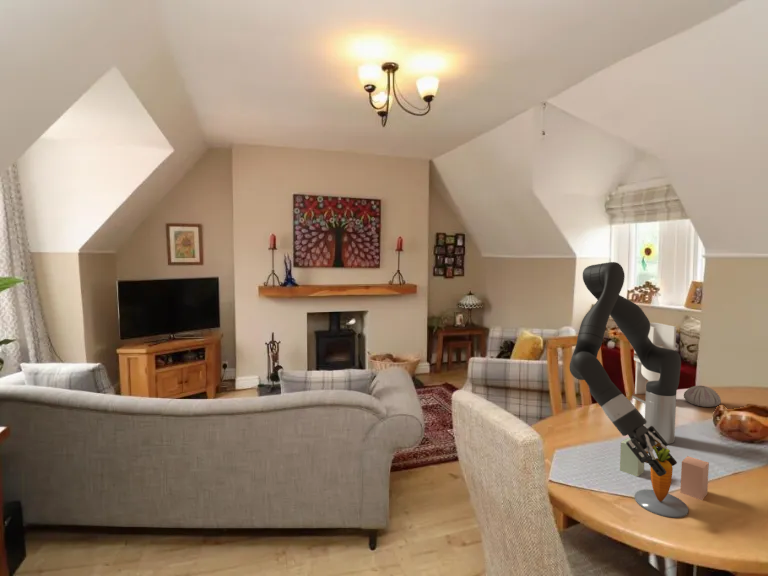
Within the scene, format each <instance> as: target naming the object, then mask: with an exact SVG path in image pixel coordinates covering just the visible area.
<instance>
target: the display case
mask: <svg viewBox="0 0 768 576" xmlns="http://www.w3.org/2000/svg"><path fill="white" fill-rule="evenodd" d="M648 337H649V339H650V340H651V342H652V343H653V344H654V345H655V346H657V347H661V348H666V349H671V350H675V351H676V342H677V339H676V338H677V326H675V325H674V326H673V325H670V324H665V323H659V322H650V332H649V335H648ZM633 351H634V353H633V360H634V361H635V384H634V387H635V388H634V393H632V399H634V400H637V401H639V403H643V404H644V405H645V401H646V384H647V382H649V381H658V380H659V378H660V373H656V372H652V371H649V370H647V369H646V368H645V367H644V366H643V365H642V363H641V361H640V360H639V358H638V356H637V354H636V352H635V350H634V349H633Z"/></svg>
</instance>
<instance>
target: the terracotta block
mask: <svg viewBox="0 0 768 576" xmlns="http://www.w3.org/2000/svg"><path fill="white" fill-rule="evenodd" d="M709 466H710V462H708V461H705V460H701V459H699V458H695V457H693V456H688V455H687V456H686V457H685V458H684V459H683V460H682V461H681V466H680V467H681V470H680V471H681V472H680V490H679V491H680V493H681V494H684V495H686V496H689V497H691V498H695V499H698V500H700V501H703V500H704V498H705V497H706V496H707V495H708V489H709V488H708V487H709V485H708V484H709V469H710V467H709Z"/></svg>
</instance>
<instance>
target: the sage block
mask: <svg viewBox="0 0 768 576" xmlns="http://www.w3.org/2000/svg"><path fill="white" fill-rule="evenodd" d="M629 440H631V439H630V437H626V438H625V439H624V440H623V441H621V442H620V455H619V457H620V460H619V471H620V472H623V473H626V474H628V475H632V476H635V477H640V475H642V474H643V473H644V472H645V462H644V463H641V462H640V460H639V459H638V458H637V457H636V455H635V454H634V453H633V452H632V450H631V449H630V448H629V447H628V445H627V444H626V442H627V441H629ZM640 456H641V457H642V455H641V454H640Z"/></svg>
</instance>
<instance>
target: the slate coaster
mask: <svg viewBox="0 0 768 576" xmlns="http://www.w3.org/2000/svg"><path fill="white" fill-rule="evenodd" d="M634 500H635V502H636V504H638V505H639V507H641V508H643V509H644V510H646V511H647V512H650V513H652V514H654V515H658V516H660V517H666V518H672V519H673V518H674V519H675V518H684V517H685V516H688V514H689V507H688V505H687V504H686V503H685V502H684V501H683V500H682V499H680V498H678V497H677V496H675V495H673V494H670V493H668V494H667V496H666V497H665V498H664V500H663V501H661V502H660V501H659V500H658V499H657V497H656V495H655V493H654V490H653V489H640V490H638V491H636V492H635V493H634Z"/></svg>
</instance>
